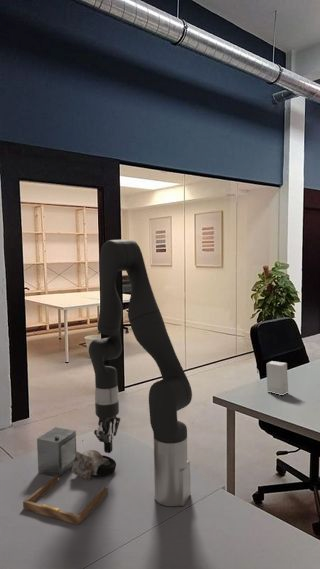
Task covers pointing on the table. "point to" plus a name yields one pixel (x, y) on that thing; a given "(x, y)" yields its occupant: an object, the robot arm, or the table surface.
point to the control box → (56, 452)
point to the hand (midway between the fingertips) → (108, 451)
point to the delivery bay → (56, 512)
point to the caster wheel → (93, 464)
